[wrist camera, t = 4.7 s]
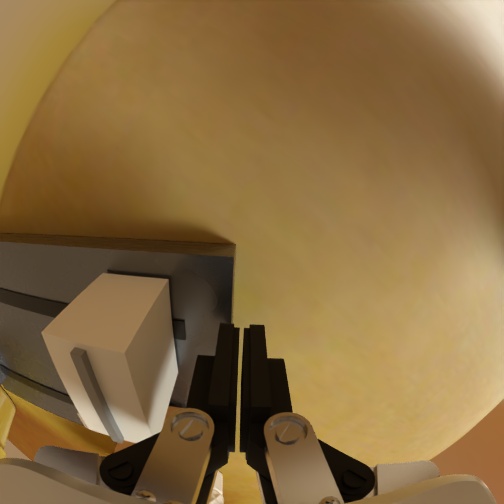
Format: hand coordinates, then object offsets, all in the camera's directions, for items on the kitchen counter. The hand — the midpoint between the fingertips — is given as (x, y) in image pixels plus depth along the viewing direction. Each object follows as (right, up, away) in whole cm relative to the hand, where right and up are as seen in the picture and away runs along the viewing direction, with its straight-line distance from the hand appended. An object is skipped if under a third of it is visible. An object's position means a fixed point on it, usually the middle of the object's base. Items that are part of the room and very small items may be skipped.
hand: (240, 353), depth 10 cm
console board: (-12, -2, +4) cm, 12 cm away
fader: (-4, +1, +1) cm, 5 cm away
